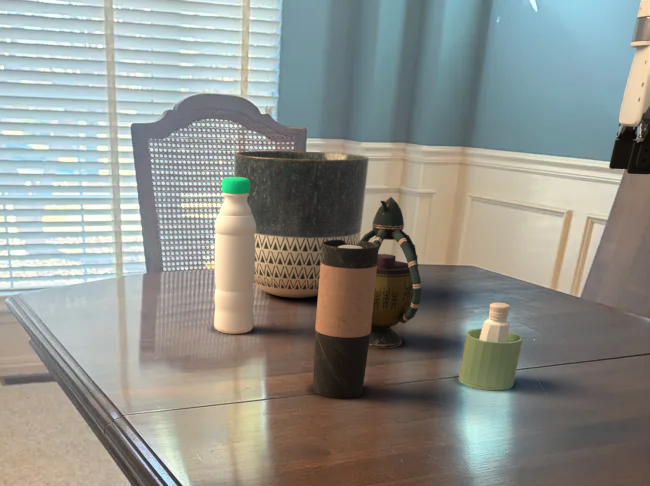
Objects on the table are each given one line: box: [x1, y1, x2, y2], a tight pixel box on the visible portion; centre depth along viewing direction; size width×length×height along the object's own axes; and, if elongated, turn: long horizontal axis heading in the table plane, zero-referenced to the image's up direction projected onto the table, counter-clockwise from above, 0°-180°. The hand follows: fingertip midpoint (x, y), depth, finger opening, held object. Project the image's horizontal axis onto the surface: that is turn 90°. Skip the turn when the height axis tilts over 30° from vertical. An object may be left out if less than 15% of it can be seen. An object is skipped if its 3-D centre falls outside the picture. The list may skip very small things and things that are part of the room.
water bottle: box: [213, 176, 256, 335], centre depth 133 cm, size 7×7×25 cm
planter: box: [233, 150, 369, 299], centre depth 159 cm, size 27×27×27 cm
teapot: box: [357, 196, 422, 349], centre depth 132 cm, size 12×25×23 cm, turn 179°
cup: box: [458, 328, 524, 391], centre depth 115 cm, size 8×8×7 cm
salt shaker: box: [479, 301, 511, 342], centre depth 113 cm, size 5×5×11 cm
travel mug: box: [312, 240, 380, 399], centre depth 106 cm, size 8×8×20 cm
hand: (628, 171), depth 115 cm, fingers open, 9 cm apart
